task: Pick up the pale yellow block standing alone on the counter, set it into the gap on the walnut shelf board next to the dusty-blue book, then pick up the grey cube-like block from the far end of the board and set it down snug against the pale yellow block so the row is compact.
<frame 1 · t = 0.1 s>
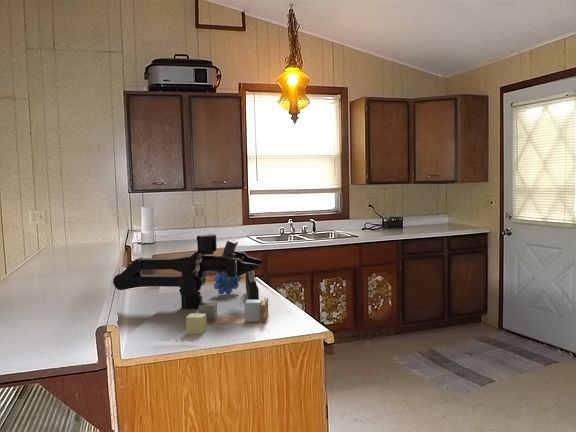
hand: (260, 263, 165), 17 cm above the counter, tool horizontal, fingers open, 9 cm apart
shelf board: (233, 322, 152), on the counter
magazine: (252, 302, 178), on the counter
pale yellow block: (196, 335, 140), on the counter
grey cube-like block: (208, 319, 153), point 1 cm above the counter, touching shelf board
blue book: (253, 319, 152), point 1 cm above the counter, touching shelf board
grapes: (227, 294, 191), on the counter
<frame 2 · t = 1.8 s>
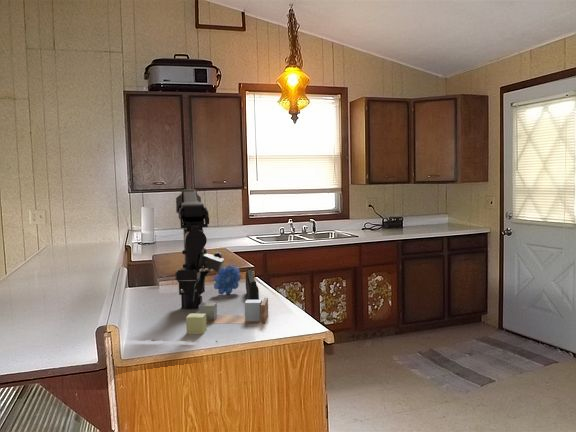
hand: (195, 298, 140), 11 cm above the counter, tool pointing down, fingers open, 9 cm apart
nothing on the counter moved.
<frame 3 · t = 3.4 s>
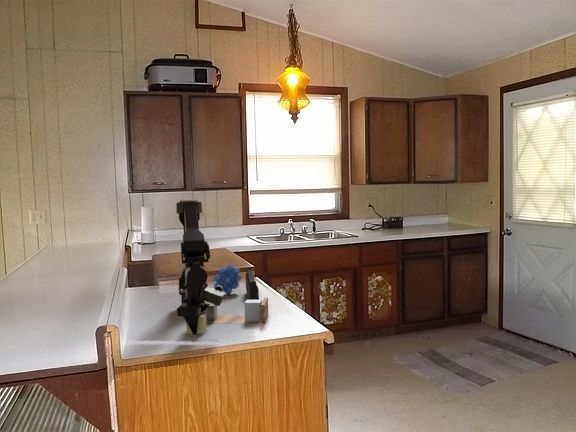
hand: (196, 331, 140), 1 cm above the counter, tool pointing down, fingers closed on pale yellow block, 4 cm apart
pale yellow block: (196, 334, 140), on the counter, touching gripper
everything else where it was.
when the fingers open (3 cm above the counter, at t = 7.2 s): pale yellow block drops 1 cm, resting on shelf board.
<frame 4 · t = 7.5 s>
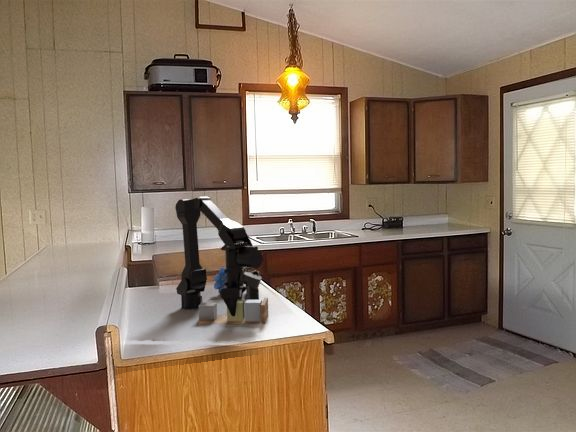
hand: (235, 312, 152), 3 cm above the counter, tool pointing down, fingers open, 7 cm apart
pale yellow block: (236, 319, 152), point 1 cm above the counter, touching shelf board
everything else where it was.
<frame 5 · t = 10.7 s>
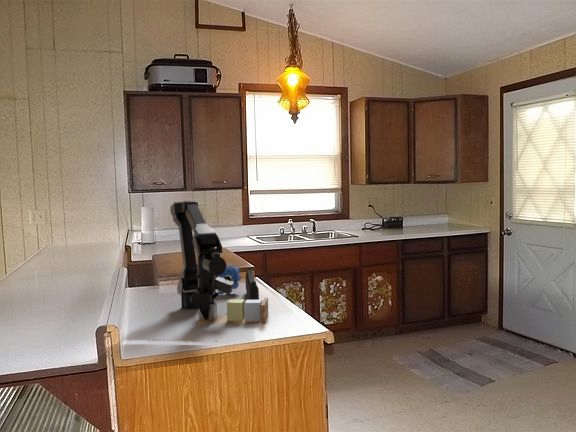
hand: (208, 317, 153), 2 cm above the counter, tool pointing down, fingers closed on grey cube-like block, 4 cm apart
grey cube-like block: (208, 319, 153), point 1 cm above the counter, touching gripper, shelf board
everything else where it was.
when the fingers open (2 cm above the counter, at t = 13.8 s): grey cube-like block stays where it is, resting on shelf board.
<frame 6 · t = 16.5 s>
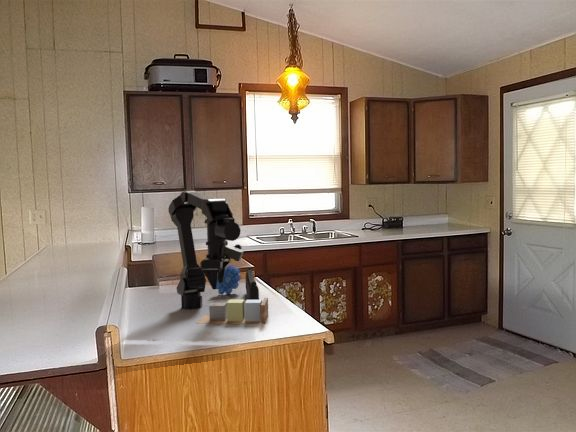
hand: (217, 285, 152), 12 cm above the counter, tool pointing down, fingers open, 9 cm apart
grey cube-like block: (218, 319, 152), point 1 cm above the counter, touching shelf board
everything else where it was.
at the end: pale yellow block 0.8 cm from the target spot, point 1.0 cm above the counter; pale yellow block tilted 0°; grey cube-like block 0.8 cm from the target spot, point 1.0 cm above the counter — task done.
